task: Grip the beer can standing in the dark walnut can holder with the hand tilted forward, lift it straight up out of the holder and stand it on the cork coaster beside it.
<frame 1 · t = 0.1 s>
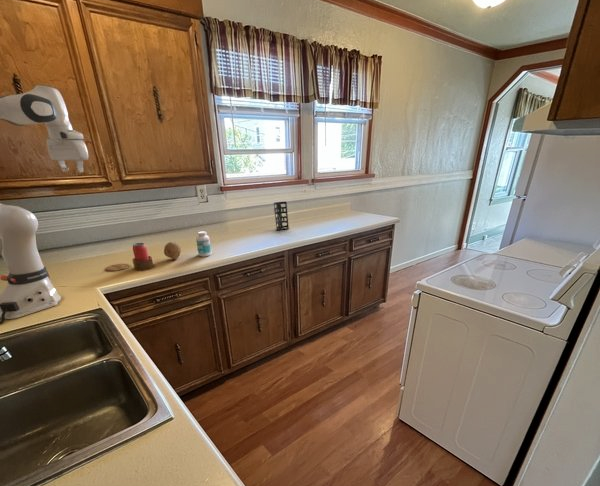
hand: (73, 172, 138), 48 cm above the worktop, tool pointing down, fingers open, 8 cm apart
holder: (281, 229, 253), on the worktop
natural sponge: (174, 259, 187), on the worktop
can holder: (144, 267, 175), on the worktop
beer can: (144, 266, 175), resting on can holder
coaster: (117, 267, 175), on the worktop
pill bottle: (205, 255, 194), on the worktop
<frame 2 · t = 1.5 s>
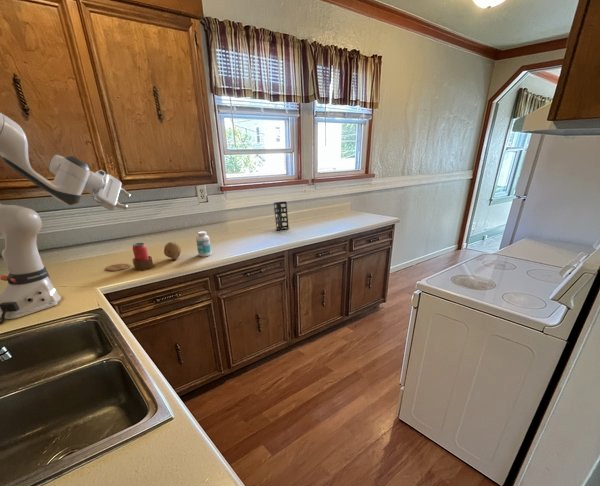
hand: (128, 202, 150), 35 cm above the worktop, tool tilted 55°, fingers open, 8 cm apart
nothing on the worktop moved.
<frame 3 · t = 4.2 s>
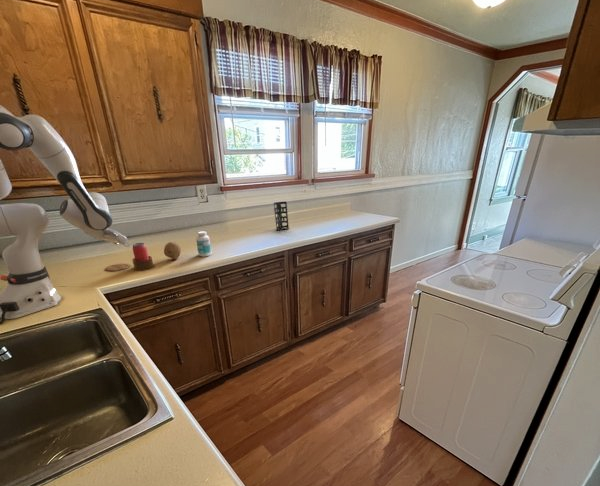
hand: (122, 244, 161), 15 cm above the worktop, tool tilted 45°, fingers open, 8 cm apart
nothing on the worktop moved.
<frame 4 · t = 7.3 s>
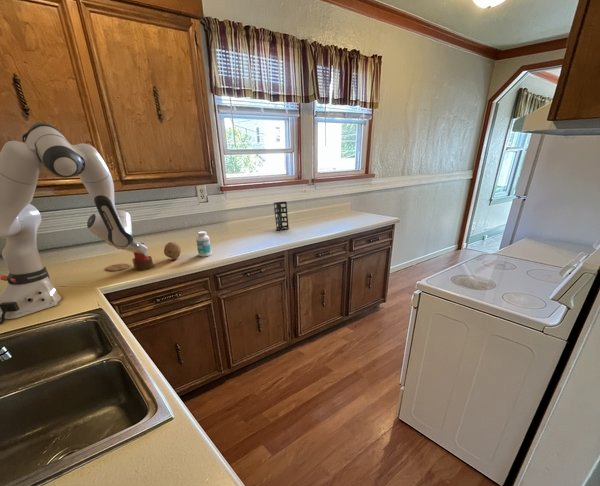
hand: (142, 254, 172), 7 cm above the worktop, tool tilted 45°, fingers closed on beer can, 6 cm apart
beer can: (144, 266, 175), resting on can holder, touching gripper
everything else where it was.
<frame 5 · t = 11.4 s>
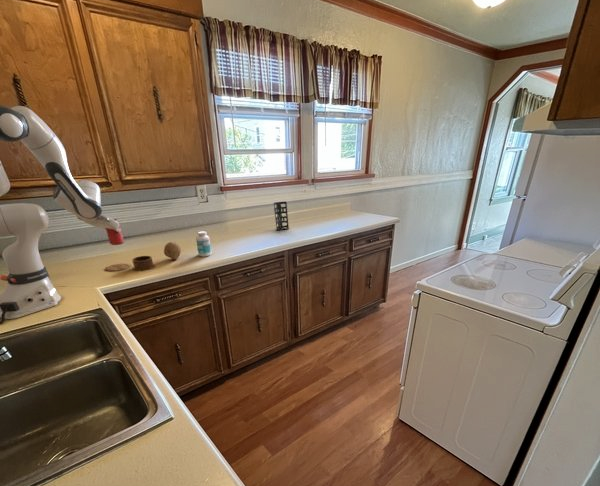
hand: (114, 230, 166), 20 cm above the worktop, tool tilted 45°, fingers closed on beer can, 6 cm apart
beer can: (117, 244, 168), point 13 cm above the worktop, touching gripper
everything else where it was.
when the fingers open (7 cm above the worktop, at t = 15.9 s): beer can stays where it is, resting on coaster.
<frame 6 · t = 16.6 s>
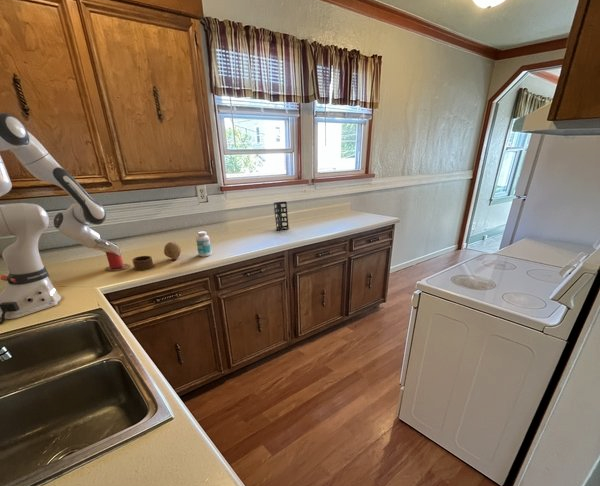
hand: (114, 253, 171), 8 cm above the worktop, tool tilted 45°, fingers open, 8 cm apart
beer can: (117, 267, 175), resting on coaster
everything else where it was.
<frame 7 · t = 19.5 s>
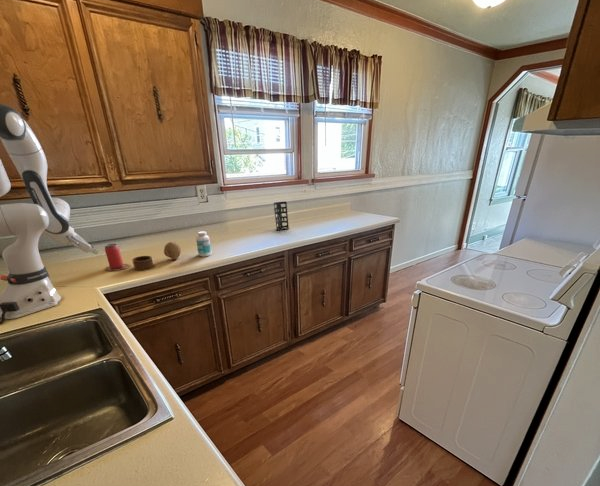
hand: (94, 250, 161), 12 cm above the worktop, tool tilted 45°, fingers open, 8 cm apart
nothing on the worktop moved.
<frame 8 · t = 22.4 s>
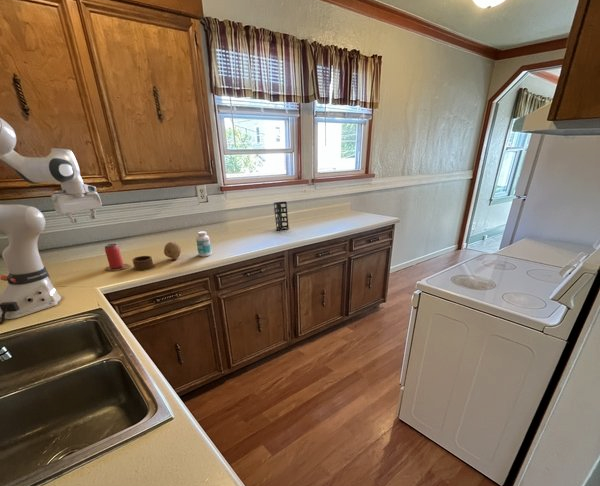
hand: (84, 220, 151), 27 cm above the worktop, tool pointing down, fingers open, 8 cm apart
nothing on the worktop moved.
at the end: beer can 0.1 cm off-centre on the coaster, point 0.2 cm above the coaster's base; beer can tilted 0°; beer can touching coaster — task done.
